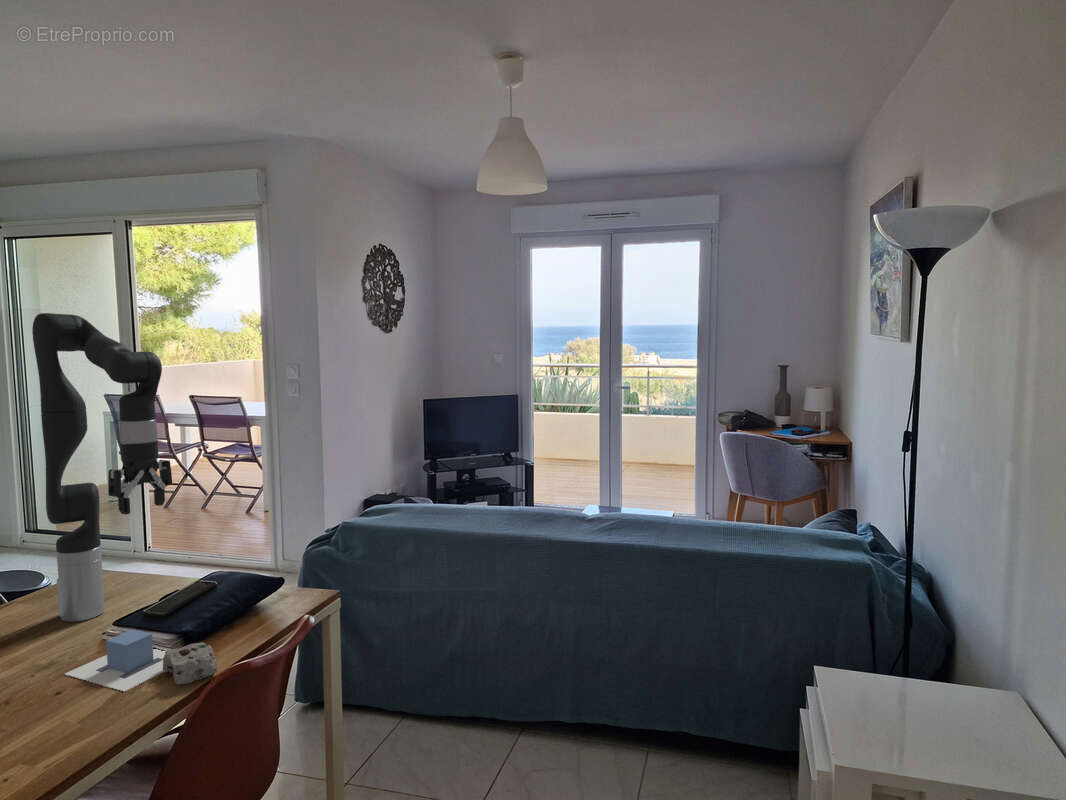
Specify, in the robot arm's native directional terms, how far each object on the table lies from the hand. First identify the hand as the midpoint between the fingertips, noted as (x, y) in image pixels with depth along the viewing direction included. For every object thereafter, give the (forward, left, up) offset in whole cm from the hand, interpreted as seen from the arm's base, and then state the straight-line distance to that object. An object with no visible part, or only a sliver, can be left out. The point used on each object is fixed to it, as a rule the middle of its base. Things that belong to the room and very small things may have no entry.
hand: (142, 509), depth 158 cm
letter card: (+10, -12, -30) cm, 34 cm away
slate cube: (+10, -12, -30) cm, 33 cm away
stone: (+24, -9, -30) cm, 40 cm away
